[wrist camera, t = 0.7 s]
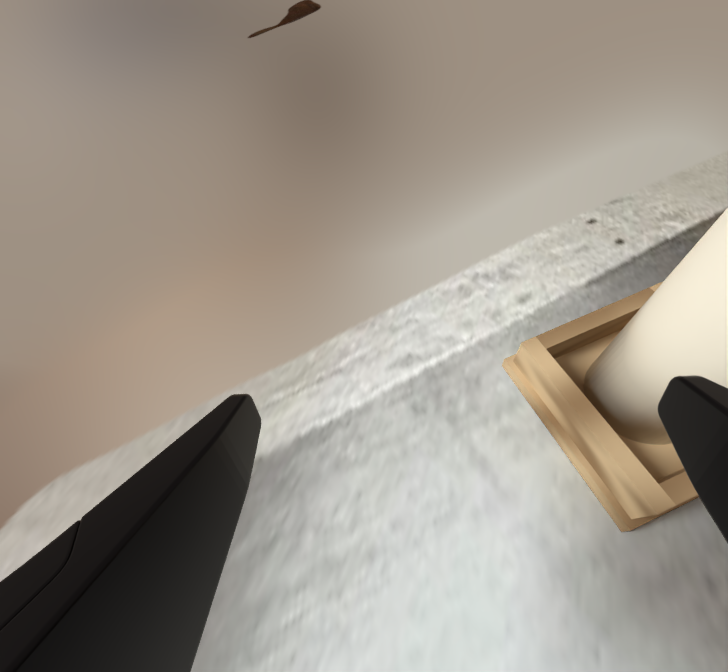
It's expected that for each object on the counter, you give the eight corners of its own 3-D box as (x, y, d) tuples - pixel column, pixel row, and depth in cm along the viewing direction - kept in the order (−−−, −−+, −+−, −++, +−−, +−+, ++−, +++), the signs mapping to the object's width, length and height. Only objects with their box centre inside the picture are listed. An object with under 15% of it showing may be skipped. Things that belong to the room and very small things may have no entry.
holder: (792, 447, 20) (856, 428, 17) (621, 531, 19) (657, 527, 16) (635, 307, 26) (662, 275, 23) (501, 365, 25) (512, 340, 22)
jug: (698, 461, 19) (1132, 311, 7) (577, 423, 21) (769, 257, 9) (694, 342, 23) (982, 113, 11) (592, 319, 25) (742, 105, 13)
